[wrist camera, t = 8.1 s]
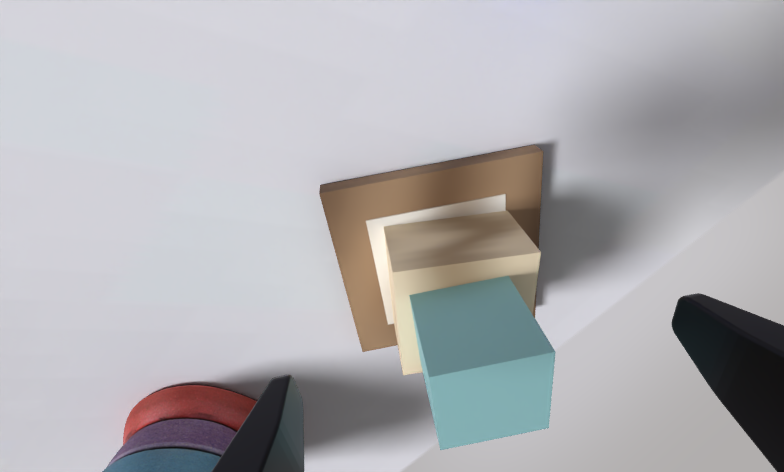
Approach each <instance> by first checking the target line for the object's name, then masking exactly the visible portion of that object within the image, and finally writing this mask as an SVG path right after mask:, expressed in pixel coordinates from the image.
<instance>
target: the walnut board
mask: <svg viewBox="0 0 784 472" xmlns="http://www.w3.org/2000/svg"><path fill="white" fill-rule="evenodd" d="M542 165H543V151H542V150H541V149H539V148H538V147H537V146H535V145H531V146H526V147H520V148H515V149H510V150H504V151H499V152H494V153H488V154H483V155H478V156H472V157H467V158H462V159H457V160H451V161H446V162H441V163H435V164H430V165H425V166H419V167H414V168H409V169H404V170H398V171H393V172H388V173H382V174H377V175H372V176H366V177H361V178H356V179H350V180H345V181H340V182H335V183H329V184H324V185H320V193H319V194H320V197H321V201H322V205H323V208H324V212H325V216H326V219H327V223H328V227H329V230H330V234H331V238H332V241H333V245H334V249H335V252H336V256H337V260H338V263H339V267H340V271H341V274H342V278H343V282H344V285H345V289H346V293H347V296H348V300H349V304H350V307H351V311H352V315H353V318H354V322H355V326H356V329H357V333H358V337H359V340H360V344H361V347H362V351H363V352H365V351H370V350H375V349H380V348H385V347H390V346H395V345H398V343H397V337H396V331H395V326H394V319H393V310H392V301H391V291H390V282H389V273H388V264H387V254H386V245H385V236H384V226H392V225H400V224H407V223H415V222H423V221H430V220H438V219H446V218H453V217H461V216H469V215H477V214H484V213H492V212H500V211H507V210H508V212H509V213H510V214H511V215H512V217H513V218H514V219H515V220H516V222H517V223H518V224H519V225H520V227H521V228H522V229H523V230H524V232H525V233H526V234H527V235H528V237H529V238H530V239H531V240H532V242H533V243H534V244H535V245H536V247H537V248H538V246H539V226H540V206H541V185H542ZM536 287H537V286H536ZM535 307H536V293H535V301H534V308H533V316H534V318H535Z"/></svg>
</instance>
